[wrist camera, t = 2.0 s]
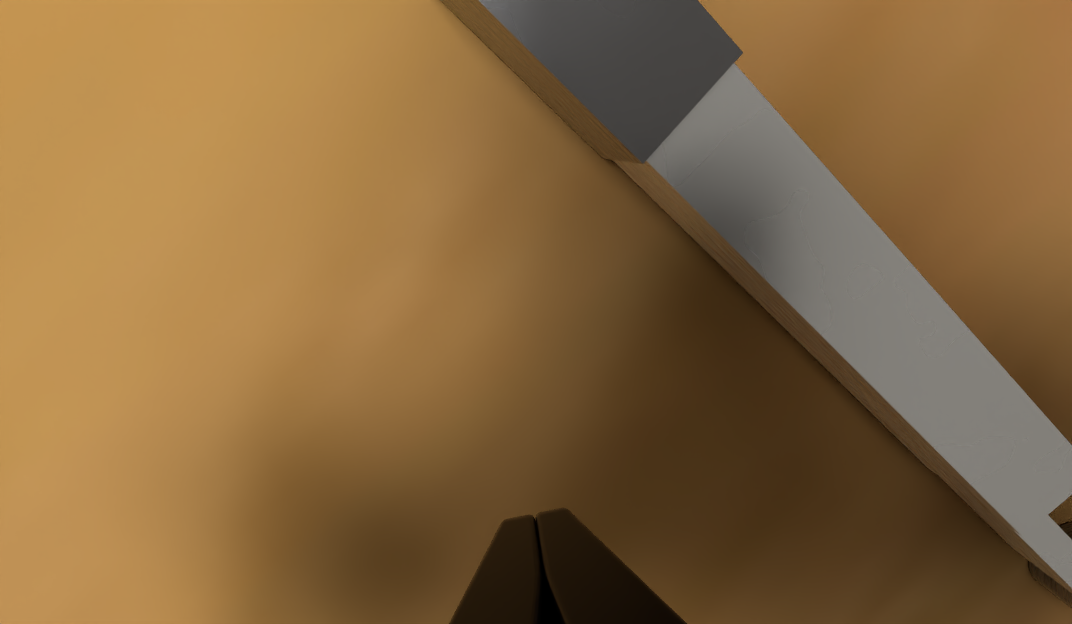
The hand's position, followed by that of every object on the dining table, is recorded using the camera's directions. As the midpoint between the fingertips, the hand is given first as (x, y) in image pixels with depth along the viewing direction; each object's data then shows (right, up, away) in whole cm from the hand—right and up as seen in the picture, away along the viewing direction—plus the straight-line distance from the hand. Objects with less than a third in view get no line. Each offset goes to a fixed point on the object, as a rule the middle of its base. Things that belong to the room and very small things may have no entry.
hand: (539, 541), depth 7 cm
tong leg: (+6, +3, +5) cm, 8 cm away
